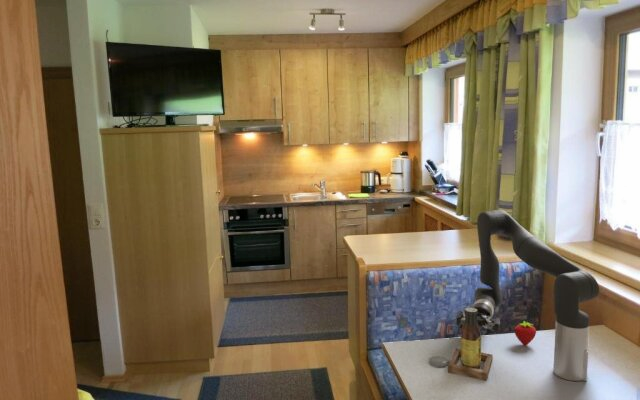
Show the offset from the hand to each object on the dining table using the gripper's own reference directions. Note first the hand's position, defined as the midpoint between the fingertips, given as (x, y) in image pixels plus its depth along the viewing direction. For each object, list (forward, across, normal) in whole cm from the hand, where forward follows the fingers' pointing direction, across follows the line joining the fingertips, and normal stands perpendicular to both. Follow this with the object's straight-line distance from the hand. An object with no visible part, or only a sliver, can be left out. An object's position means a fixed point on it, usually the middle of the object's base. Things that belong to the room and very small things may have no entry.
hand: (474, 329), depth 159 cm
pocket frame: (+7, 0, +10) cm, 12 cm away
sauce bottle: (+7, 0, +10) cm, 13 cm away
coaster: (+8, -10, +10) cm, 16 cm away
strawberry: (-16, +15, +10) cm, 24 cm away
